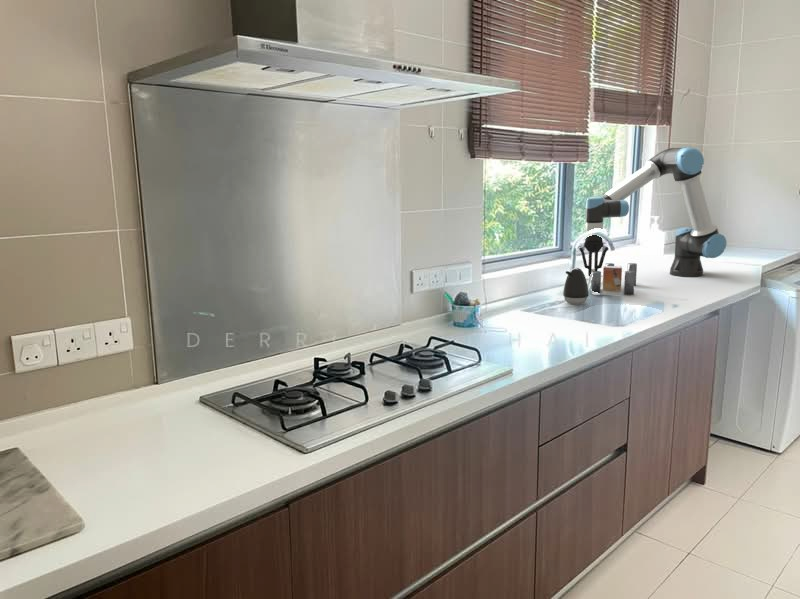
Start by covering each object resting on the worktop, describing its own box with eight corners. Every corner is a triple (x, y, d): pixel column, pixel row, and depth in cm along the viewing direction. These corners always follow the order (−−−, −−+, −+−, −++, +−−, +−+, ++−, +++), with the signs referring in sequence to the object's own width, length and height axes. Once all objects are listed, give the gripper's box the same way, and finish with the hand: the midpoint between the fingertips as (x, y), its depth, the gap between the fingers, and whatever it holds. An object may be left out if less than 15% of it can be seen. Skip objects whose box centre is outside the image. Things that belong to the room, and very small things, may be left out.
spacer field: (635, 284, 300) (636, 263, 298) (644, 295, 277) (645, 272, 275) (586, 284, 304) (587, 263, 302) (591, 295, 281) (592, 272, 279)
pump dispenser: (557, 303, 269) (558, 267, 266) (577, 299, 273) (577, 264, 270) (573, 307, 260) (574, 271, 257) (593, 304, 264) (594, 268, 261)
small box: (602, 290, 289) (603, 267, 287) (602, 288, 295) (603, 265, 292) (621, 291, 287) (622, 267, 285) (620, 288, 292) (621, 265, 290)
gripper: (608, 230, 289) (606, 281, 294) (578, 231, 291) (577, 281, 297) (610, 232, 282) (608, 284, 287) (579, 233, 284) (578, 284, 290)
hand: (592, 283), depth 292 cm, fingers closed
